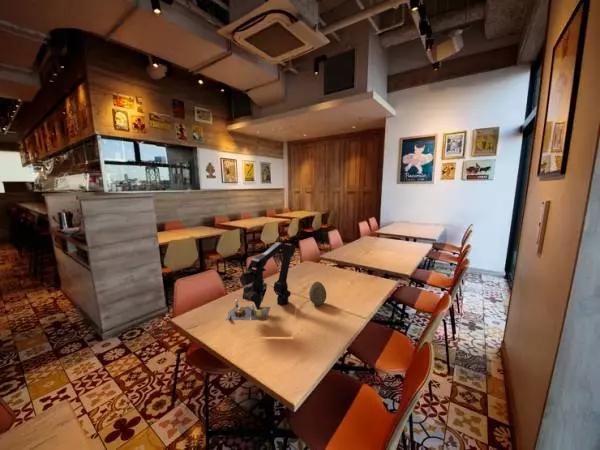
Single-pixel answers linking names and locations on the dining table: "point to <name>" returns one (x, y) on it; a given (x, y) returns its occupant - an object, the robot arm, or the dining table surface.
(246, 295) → the grey rock
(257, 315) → the hollow octagonal tube
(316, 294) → the decorative egg
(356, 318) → the dining table surface
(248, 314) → the carrier
